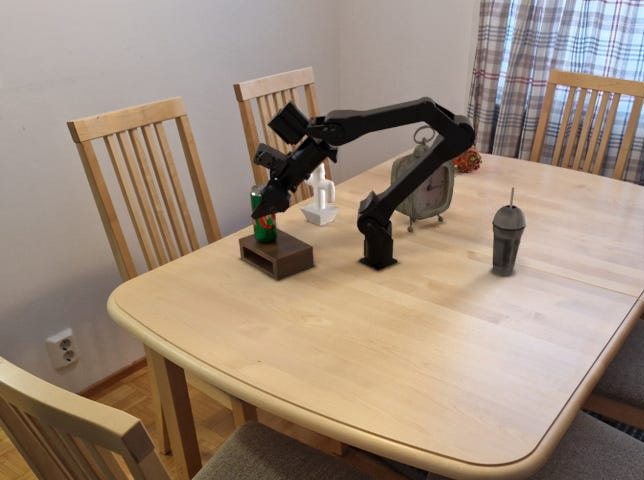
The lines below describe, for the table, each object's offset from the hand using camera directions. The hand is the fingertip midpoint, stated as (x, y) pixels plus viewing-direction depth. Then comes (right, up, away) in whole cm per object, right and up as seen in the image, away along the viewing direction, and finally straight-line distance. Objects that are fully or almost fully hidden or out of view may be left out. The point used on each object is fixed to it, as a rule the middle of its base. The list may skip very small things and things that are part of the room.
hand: (256, 209), depth 140 cm
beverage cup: (+55, -13, +6) cm, 57 cm away
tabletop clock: (+36, +2, +27) cm, 45 cm away
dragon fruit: (+52, +27, +63) cm, 86 cm away
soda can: (+1, -6, +4) cm, 7 cm away
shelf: (+3, -11, +6) cm, 13 cm away
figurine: (+11, +3, +26) cm, 28 cm away
